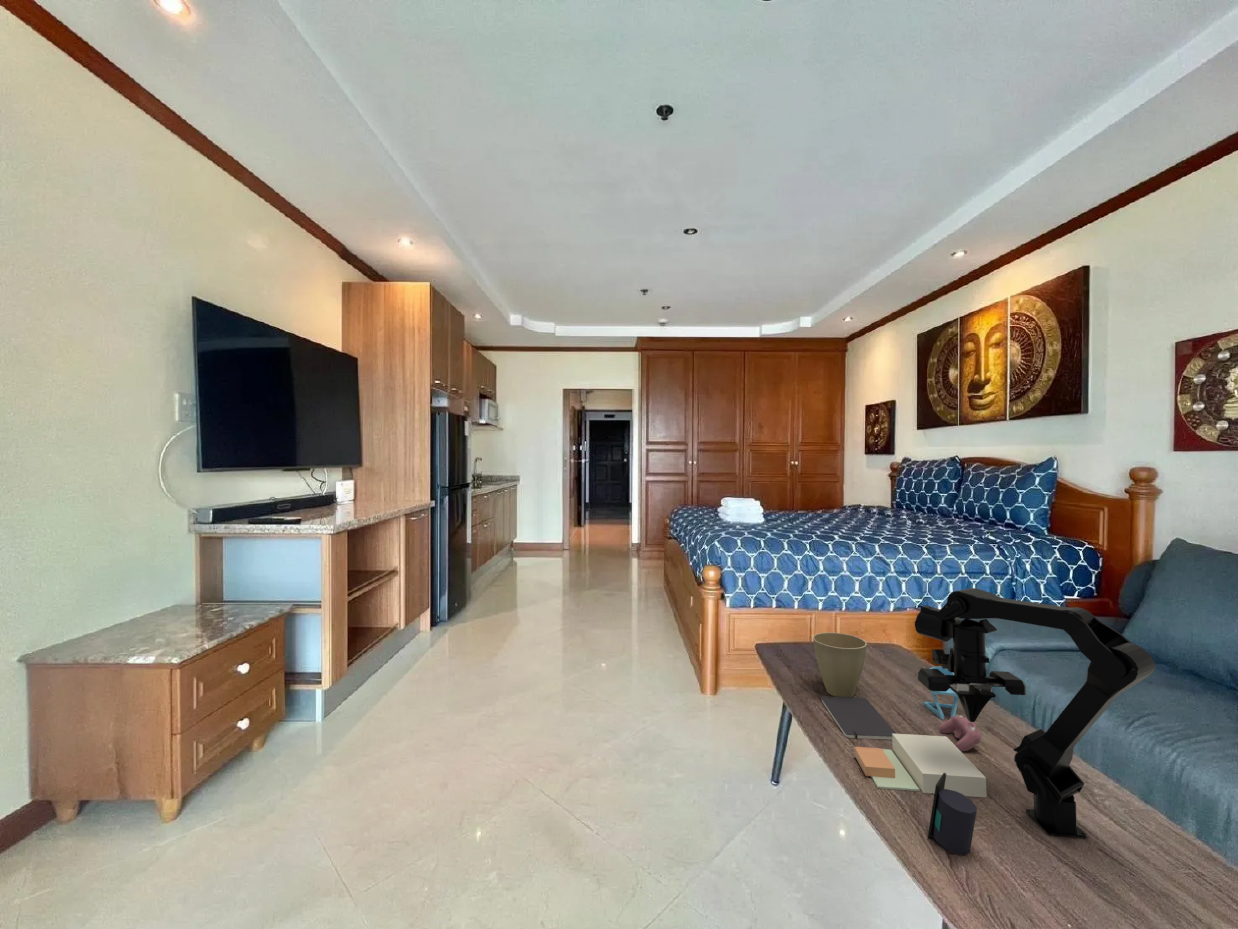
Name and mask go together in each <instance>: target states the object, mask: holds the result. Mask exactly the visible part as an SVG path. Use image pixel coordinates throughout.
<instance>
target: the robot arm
mask: <svg viewBox="0 0 1238 929" xmlns="http://www.w3.org/2000/svg"><path fill="white" fill-rule="evenodd" d="M956 618H959V619H956ZM960 619H962V620H960ZM988 619H1000V620H1007V621H1011V622H1015V623H1016V622H1018V623H1021V624H1027V625H1028V624H1029V625H1034V626H1040V627H1045V628H1051V629H1057V630H1062V631H1064V632H1065V633H1066V634H1068V635H1069V637H1070V638H1071V640H1072V641H1073V642H1074V644H1075V646H1076V647H1077V648H1078V649H1079V651H1080V653H1081V654H1082V655H1084V656H1085V658H1087V659H1088V660H1089V661H1090V662H1089V665H1088V668H1086V669H1087V671H1086V677H1085V679H1086V680H1085V683H1084V684H1083V685H1082V687H1081V688H1080V689H1079V690H1078V691H1077V693H1076V694H1075V695H1074V696H1073V698H1072V699H1071V700H1070V701H1069V703H1068V704H1067V705H1066V706H1065V708H1063V710H1062V712H1061V713H1060V714H1059V715H1058V716H1057V718H1056V719H1055V720H1054V722H1052V724H1051V725H1050V726H1049V728H1048V729H1047V730H1046V731H1044V730H1043V729H1042V728H1040V729H1037V730H1035V731H1032V732H1030V733H1028V734H1026V735H1024V737H1023V738H1022V740H1021V742H1020V744H1019V745H1018V746H1017V747H1014V748H1013V751H1014V752H1016V753H1015V755H1014V758H1013V761H1014V763H1015V765H1016V767H1017V769H1018V771H1019V772H1020V774H1021V777H1022V779H1023V783H1024V785H1025V787H1026V790H1027V792H1029V793H1031V794H1032V795H1033V809H1031V808H1026V809H1025V813H1026V814H1027V815H1028V816H1029V817H1030V818H1031V819H1032V820H1033V821H1034V823H1036V824H1037V825H1038V827H1039V828H1040V829H1041V830H1042V831H1043V832H1044V833H1045V834H1047V835H1049V836H1057V837H1067V838H1068V837H1070V838H1082V839H1083V838H1084V839H1086V838H1087V833H1085V831H1083V830H1082V829H1081V828H1080V827H1079V826H1078V825H1077V824H1078V823H1077V802H1076V800H1075V795H1076V794H1077V793H1081V791H1082V790H1083V788H1084V786H1085V783H1084V781H1083V780H1082V779H1081V778H1080V777H1079V775H1078V774H1077V773H1076V771H1074V769H1073V768H1072V766H1070V765H1071V763H1072V761H1073V755H1074V749H1075V747H1076V746H1077V744H1078V743H1079V742H1080V741H1081V739H1083V738H1084V736H1085V735H1086V734H1087V732H1089V730H1090V729H1091V728H1092V726H1094V725H1095V723H1096V722H1097V720H1099V718H1100V717H1101V716H1102V715H1103V713H1104V712H1105V711H1106V710H1107V709H1108V708H1109V707H1110V706H1111V704H1112V703H1113V702H1114V701H1115V700H1116V699H1117V697H1118V696H1120V695H1121V694H1123V693H1124V692H1126V691H1127V690H1129V689H1131V688H1132V687H1134V686H1136V685H1137V684H1139V683H1140V682H1142V681H1143V680H1145V679H1146V678H1147V677H1149V676H1150V675H1152V674H1153V672H1154V671H1155V669H1156V663H1155V662H1154V659H1153V657H1152V655H1151V654H1150V653H1149V652H1148V651H1147V650H1146V649H1144V648H1143V647H1142V646H1139V645H1137V644H1135V643H1132V642H1131V641H1130V640H1129V639H1128V638H1126V637H1125V635H1123V634H1122V633H1120V632H1119V631H1117V630H1116V629H1114V628H1113V627H1111V626H1110V625H1107V624H1106V623H1104V622H1103V621H1101V620H1100V619H1098V618H1097V617H1096V616H1094V614H1093V613H1092V612H1090V611H1088V610H1087V609H1085V608H1082V607H1077V606H1075V607H1069V606H1068V607H1067V606H1062V605H1061V606H1060V605H1053V604H1047V603H1040V602H1033V601H1026V600H1024V601H1023V600H1020V599H1019V600H1017V599H1011V598H1010V599H1009V598H1006V597H1005V598H1004V597H1001V596H998V595H997V594H994V593H992V592H990V591H986V590H983V589H980V588H975V587H972V588H971V587H970V588H964V589H959V590H954V591H951V592H950V593H949V595H948V596H947V599H946V603H945V604H944V605H943V606H942V607H941V608H940V609H939V608H935V607H933V606H930V605H923V606H920V612H918V614H917V616H916V618H915V621H914V628H915V630H916V633H918V634H919V635H921V636H924V637H928V638H932V639H935V640H938V641H942V642H949V641H950V640H952V647H950V649H949V653H945V650H944V649H941V648H940V649H936V648H935V649H931V658H932V662H933V664H935V665H941V667H942V668H943V669H948V671H949V672H953V673H954V675H946V674H943V673H942V672H941V671H939V670H938V669H929V668H920V669H919V670H918V672H917V680H918V681H919V682H920V684H922V685H923V686H924V687H925V688H926V689H927V690H929V691H930V690H931V691H943V692H946V691H947V690H948V689H949V688H950V689H951V690H952V691H954V692H955V693H956V694H957V696H958V698H959V702H960V704H961V706H962V709H963V712H964V714H965V716H966V718H967V719H968V720H969V721H970V722H973V723H975V722H976V720H977V718H978V717H979V716H980V714H981V712H982V711H983V709H984V708H985V706H986V705H987V704H988V703H989V702H990V700H991V699H992V698H997V694H996V693H994V691H992V690H993V687H994V688H995V687H996V688H997V687H998V688H1004V690H1006V692H1008V693H1009V694H1010V695H1013V696H1014V695H1015V696H1025V695H1027V688H1026V684H1025V682H1024V681H1023V680H1022V679H1021V678H1019V677H1017V676H1016V675H1014V674H1013V673H1011V672H1010V671H1001V670H999V671H998V670H997V671H996V670H991V671H990V672H989V674H988V675H987V664H990V657H988V656H987V655H986V634H990V633H995V632H997V631H998V628H996V627H995V626H994V625H993V624H992V623H991V622H990V621H989V620H988ZM931 691H930V692H931Z"/></svg>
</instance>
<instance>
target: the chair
mask: <svg viewBox="0 0 1238 929" xmlns="http://www.w3.org/2000/svg"><path fill="white" fill-rule="evenodd" d="M928 669H938V670H939V671H941V672H942V673H943V674H944V675H954V673H953V672H949V671H948V669H943V668H942V665H941V666H940V665H938V666H933V667H930V668H928ZM929 691H930V692H931V696H932V698H933V701H934V702H931V701H924V702H923V706H925V707H926V708H927V709H928V710H930V712H931V713H933V714H935V715H936V716H937V717H938V718H939V719H941V720H945V714H944V712H943V709H942V708H944V709H945V708H946V709H951V710H950V718H951V717H953V716H956V715H957V714H956V713H957V708H958V704H959V701H960V699H959V698H958V696H957V694H956V693H955V692H954V691H952V690H951V689H950V688H949V689H948V690H947V691H946V692H943V691H931V690H929ZM937 695H942V696H943V695H945V696H952V697H953V701H952V702H953V703H952V704H949V703H940V702H939V700H938V698H937ZM935 707H936V708H935Z"/></svg>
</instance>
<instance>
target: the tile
mask: <svg viewBox="0 0 1238 929" xmlns="http://www.w3.org/2000/svg"><path fill="white" fill-rule="evenodd" d="M853 748H854V749H853V751H854V753H853V754H854V757H855V759H856V761H857V763H858V764H859V766H860V768H861V770H862V772H863V773H864V775H865V777H871V776H874V777H887V778H895V768H894V766H893V765H892V763H891V762H890V760H889V759H888V757H887V756H886V754H885V753H884V751H883V750H882V749H883V748H879V747H865V746H862V747H861V746H854V747H853Z"/></svg>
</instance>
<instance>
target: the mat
mask: <svg viewBox="0 0 1238 929" xmlns="http://www.w3.org/2000/svg"><path fill="white" fill-rule="evenodd" d="M882 750H883V751H884V753H885V754H886V756H887V757H888V759H889V760H890V762H891V763H892V765H893V766H894V768H895V778H887V777H874V776H870V778H871V779H872V782H873V783H874V784H875V786H876V787H877V789H884V790H897V791H912V792H921V789H920V788H919V786H918V785H917V784H916V782H915V781H914V779H913V778H912V777H911V775H910V774H909V772H908V771H907V770H906V768H905V767H904V765H903V764H902V763H901V761H900V760H899V759H898V757H897V756H896V754H895V753H894V752H893V749H886V748H882Z"/></svg>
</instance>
